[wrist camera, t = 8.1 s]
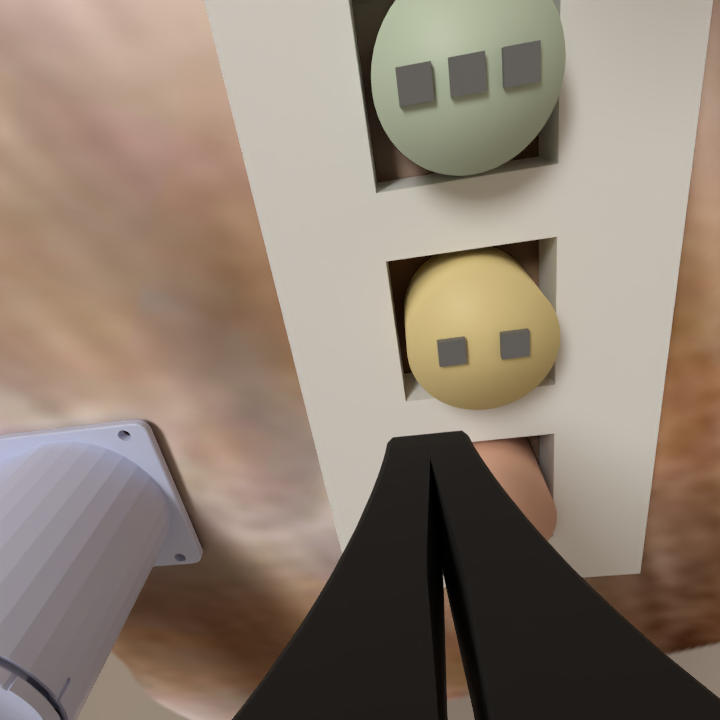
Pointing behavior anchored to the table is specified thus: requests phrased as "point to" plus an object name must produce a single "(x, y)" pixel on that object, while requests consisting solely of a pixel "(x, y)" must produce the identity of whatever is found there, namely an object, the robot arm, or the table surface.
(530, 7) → the button three
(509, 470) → the button one
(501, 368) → the button two
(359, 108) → the panel
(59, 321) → the table surface
